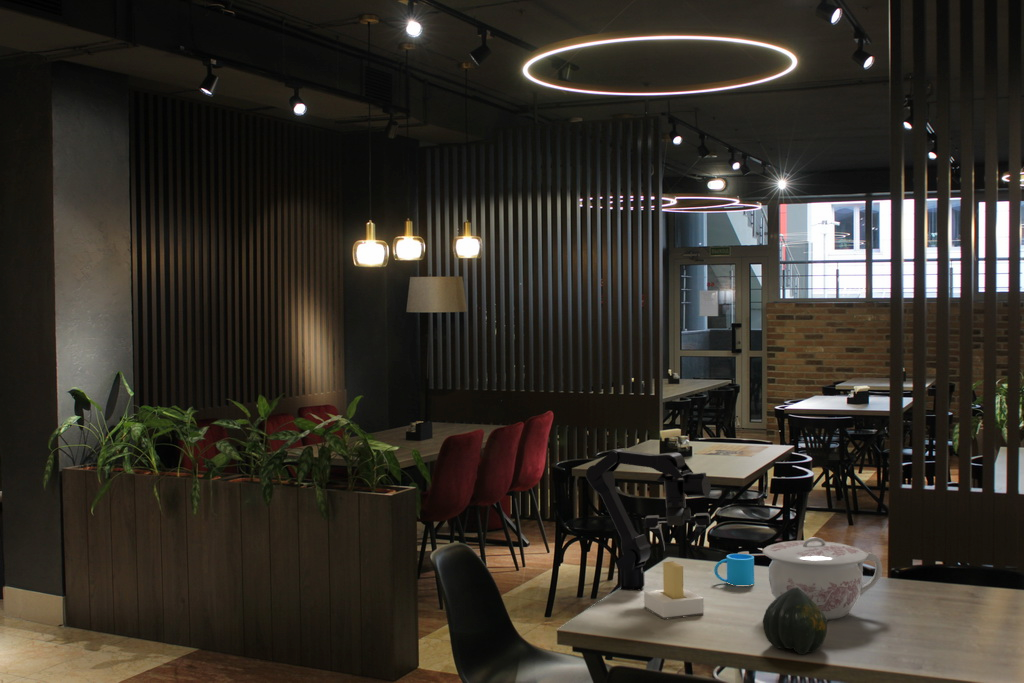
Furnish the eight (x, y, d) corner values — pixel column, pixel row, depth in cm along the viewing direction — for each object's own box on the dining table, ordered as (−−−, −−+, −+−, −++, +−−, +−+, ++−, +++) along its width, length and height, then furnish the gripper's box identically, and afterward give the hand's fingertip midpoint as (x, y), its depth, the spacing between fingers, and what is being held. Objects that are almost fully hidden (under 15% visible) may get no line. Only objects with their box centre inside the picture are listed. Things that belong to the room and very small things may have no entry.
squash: (783, 640, 233) (814, 586, 237) (742, 626, 246) (772, 575, 251) (820, 674, 237) (850, 620, 242) (778, 658, 251) (807, 607, 255)
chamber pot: (744, 615, 272) (743, 539, 272) (792, 594, 292) (791, 523, 292) (843, 635, 253) (842, 553, 253) (887, 611, 273) (886, 535, 273)
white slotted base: (644, 607, 281) (644, 591, 281) (682, 603, 285) (682, 587, 285) (663, 619, 270) (663, 602, 270) (703, 614, 273) (703, 598, 273)
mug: (751, 579, 310) (751, 553, 310) (756, 586, 301) (756, 559, 301) (712, 580, 310) (711, 553, 310) (716, 587, 302) (716, 560, 302)
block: (663, 607, 279) (663, 562, 279) (673, 606, 280) (672, 561, 280) (674, 612, 274) (673, 567, 274) (683, 611, 275) (683, 566, 275)
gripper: (640, 502, 288) (645, 556, 287) (706, 498, 284) (711, 554, 283) (644, 496, 299) (648, 549, 298) (707, 493, 295) (712, 546, 294)
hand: (679, 550), depth 293 cm, fingers open, 9 cm apart
